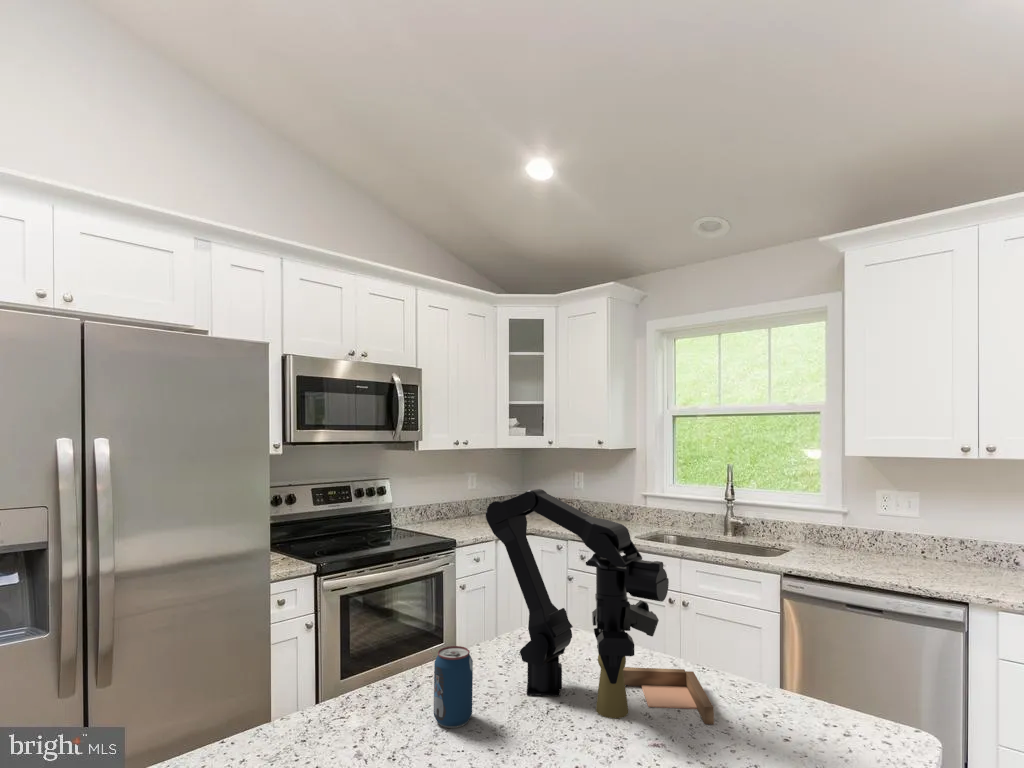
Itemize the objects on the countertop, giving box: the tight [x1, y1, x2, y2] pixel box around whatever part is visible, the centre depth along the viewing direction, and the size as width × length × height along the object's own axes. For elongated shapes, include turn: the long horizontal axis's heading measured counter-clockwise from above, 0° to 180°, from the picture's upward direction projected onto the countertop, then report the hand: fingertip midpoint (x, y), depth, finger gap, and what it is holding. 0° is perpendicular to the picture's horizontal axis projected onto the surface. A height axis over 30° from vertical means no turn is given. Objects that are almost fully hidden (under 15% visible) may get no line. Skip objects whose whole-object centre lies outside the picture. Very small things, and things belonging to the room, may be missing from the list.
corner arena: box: [623, 666, 715, 725], centre depth 116 cm, size 18×17×3 cm
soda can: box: [433, 645, 474, 729], centre depth 108 cm, size 7×7×12 cm
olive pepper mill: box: [595, 654, 629, 719], centre depth 112 cm, size 6×6×11 cm
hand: (611, 677), depth 112 cm, fingers closed on olive pepper mill, 5 cm apart
